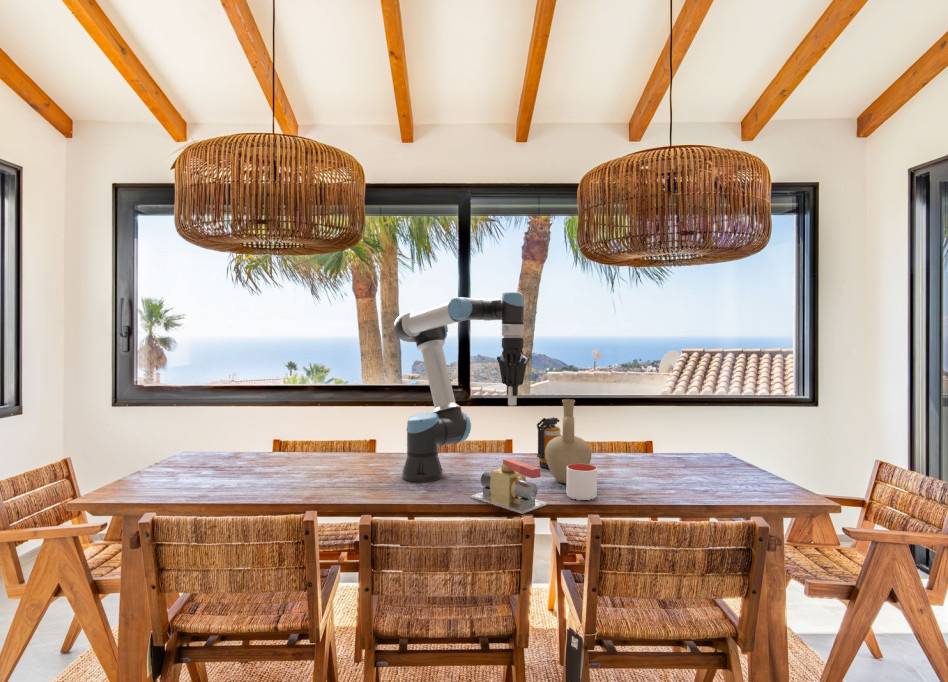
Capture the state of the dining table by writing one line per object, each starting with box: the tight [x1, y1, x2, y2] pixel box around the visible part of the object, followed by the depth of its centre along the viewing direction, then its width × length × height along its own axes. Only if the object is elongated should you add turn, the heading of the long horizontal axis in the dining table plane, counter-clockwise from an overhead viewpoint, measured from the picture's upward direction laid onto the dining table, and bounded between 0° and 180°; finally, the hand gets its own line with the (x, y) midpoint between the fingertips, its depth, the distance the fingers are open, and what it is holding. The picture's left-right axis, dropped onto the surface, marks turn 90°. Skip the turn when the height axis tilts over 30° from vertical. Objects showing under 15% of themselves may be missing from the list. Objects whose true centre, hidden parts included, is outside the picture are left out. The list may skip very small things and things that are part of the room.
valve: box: [470, 467, 548, 515], centre depth 178 cm, size 22×12×10 cm, turn 45°
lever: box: [500, 458, 541, 479], centre depth 173 cm, size 17×4×4 cm, turn 32°
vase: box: [545, 398, 592, 484], centre depth 201 cm, size 17×17×30 cm
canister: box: [536, 416, 563, 469], centre depth 222 cm, size 9×11×20 cm
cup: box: [565, 464, 598, 501], centre depth 183 cm, size 10×10×10 cm
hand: (512, 405), depth 191 cm, fingers closed
